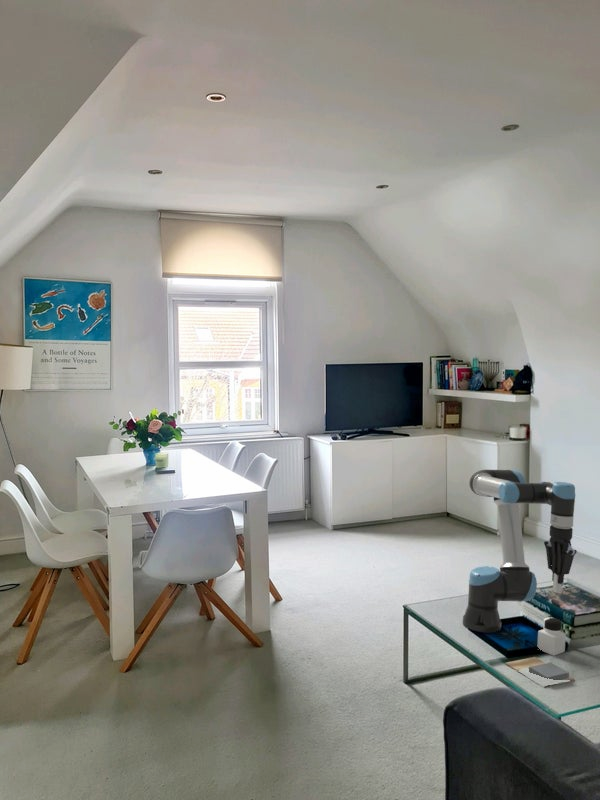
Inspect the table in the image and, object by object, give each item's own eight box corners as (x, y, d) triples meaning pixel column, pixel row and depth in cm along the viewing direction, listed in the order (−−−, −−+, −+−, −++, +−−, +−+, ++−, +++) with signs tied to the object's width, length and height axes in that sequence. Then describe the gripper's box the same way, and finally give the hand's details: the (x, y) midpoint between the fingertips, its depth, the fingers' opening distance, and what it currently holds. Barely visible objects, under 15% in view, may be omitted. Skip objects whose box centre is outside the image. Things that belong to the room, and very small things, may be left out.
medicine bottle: (564, 652, 242) (566, 620, 241) (553, 656, 238) (555, 624, 237) (548, 645, 248) (549, 614, 247) (536, 649, 244) (538, 617, 243)
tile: (529, 666, 222) (547, 677, 214) (550, 662, 226) (569, 672, 219) (528, 673, 222) (546, 684, 214) (550, 669, 226) (568, 679, 219)
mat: (505, 664, 229) (505, 662, 229) (534, 658, 235) (534, 656, 235) (543, 687, 213) (543, 686, 213) (574, 680, 219) (574, 679, 219)
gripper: (539, 522, 234) (535, 586, 235) (567, 531, 222) (563, 598, 223) (555, 521, 237) (551, 584, 238) (583, 530, 225) (579, 596, 227)
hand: (557, 591), depth 231 cm, fingers closed
